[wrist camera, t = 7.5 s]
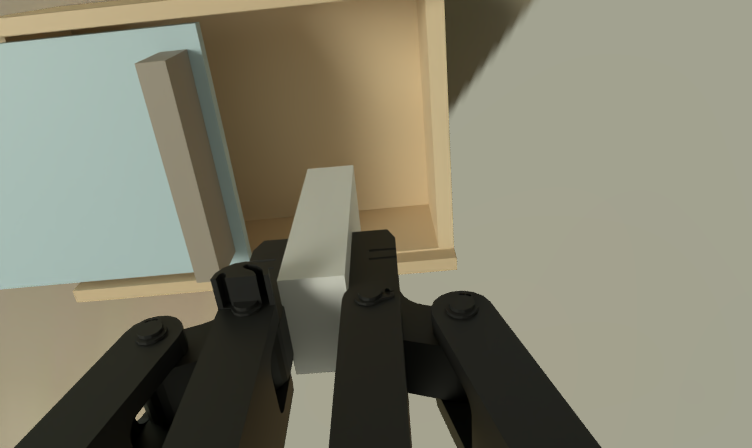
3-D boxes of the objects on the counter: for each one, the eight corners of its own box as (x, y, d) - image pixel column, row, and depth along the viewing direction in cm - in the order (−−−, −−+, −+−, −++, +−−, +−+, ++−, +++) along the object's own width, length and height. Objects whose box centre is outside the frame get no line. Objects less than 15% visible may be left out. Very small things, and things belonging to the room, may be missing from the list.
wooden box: (55, 6, 29) (-37, 22, 23) (428, -34, 29) (445, -30, 22) (132, 237, 36) (77, 302, 29) (440, 209, 35) (457, 269, 28)
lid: (-226, 66, 24) (-311, 82, 21) (199, 21, 24) (173, 31, 21) (-97, 292, 30) (-151, 331, 27) (253, 261, 29) (239, 297, 26)
